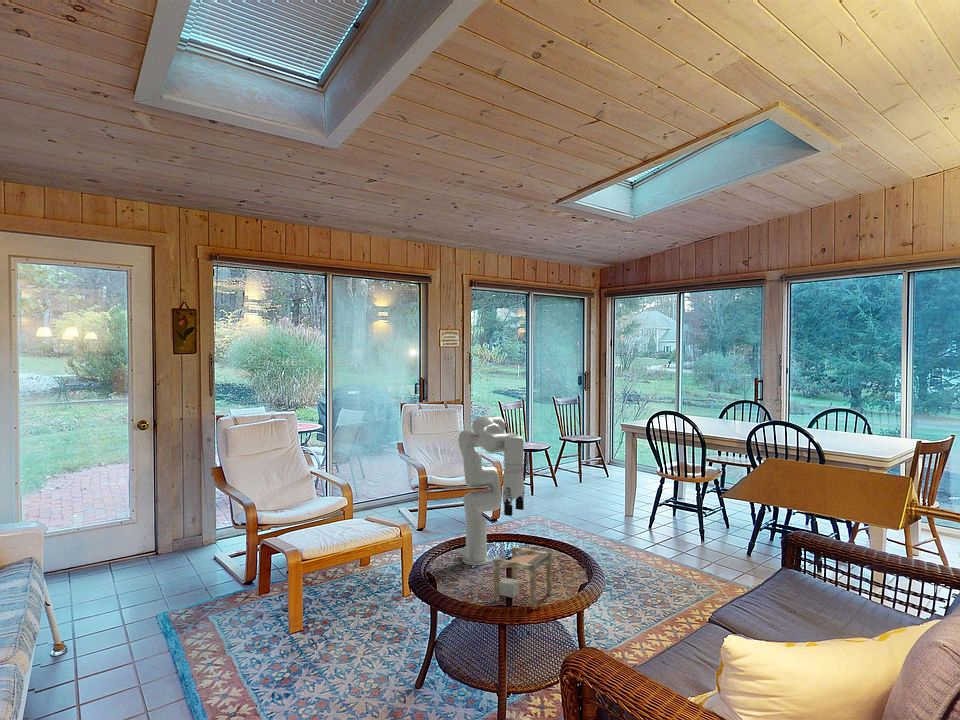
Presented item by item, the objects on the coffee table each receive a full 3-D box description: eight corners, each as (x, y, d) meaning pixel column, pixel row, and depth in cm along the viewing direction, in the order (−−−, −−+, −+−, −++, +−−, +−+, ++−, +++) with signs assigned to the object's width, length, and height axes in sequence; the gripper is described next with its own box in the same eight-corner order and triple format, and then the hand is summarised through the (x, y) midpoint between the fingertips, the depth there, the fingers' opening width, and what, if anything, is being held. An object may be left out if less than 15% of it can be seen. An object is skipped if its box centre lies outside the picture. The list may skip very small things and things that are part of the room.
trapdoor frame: (493, 600, 199) (493, 558, 199) (513, 585, 213) (513, 546, 214) (534, 610, 191) (534, 566, 191) (552, 593, 205) (551, 553, 205)
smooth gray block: (513, 598, 201) (499, 595, 204) (519, 593, 206) (505, 590, 209) (513, 584, 202) (499, 581, 205) (519, 580, 206) (505, 577, 209)
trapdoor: (502, 567, 200) (502, 564, 200) (516, 558, 210) (516, 555, 210) (531, 566, 194) (530, 562, 194) (544, 556, 204) (543, 553, 205)
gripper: (515, 463, 215) (515, 506, 214) (494, 470, 200) (494, 516, 199) (532, 465, 211) (532, 508, 211) (512, 472, 196) (512, 519, 196)
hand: (514, 512), depth 205 cm, fingers open, 9 cm apart
